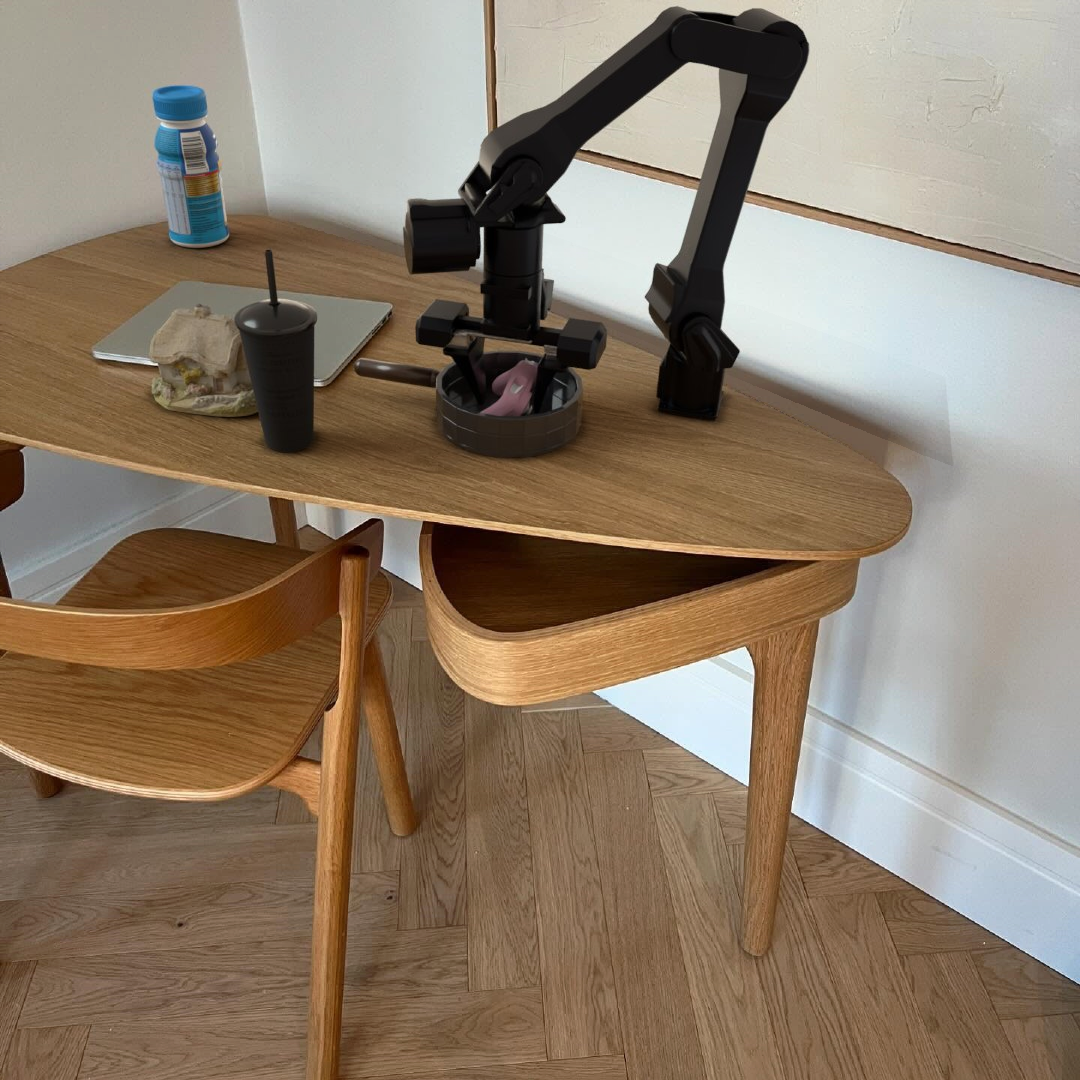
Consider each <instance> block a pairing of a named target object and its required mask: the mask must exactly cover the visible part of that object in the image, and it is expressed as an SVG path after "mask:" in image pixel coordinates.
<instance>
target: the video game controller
mask: <svg viewBox="0 0 1080 1080" xmlns="http://www.w3.org/2000/svg"><path fill="white" fill-rule="evenodd" d="M538 364H539V363H536V362H534V361H528V360H527V358H526V359H525V361H524V360H522V361H520V362H519V363H518V364H517V365H516V366H515V367H514V368H512V369H511V370H509V371H507V372H505V373H503V374H502V375H500V376H499V377H497V378H496V379H495V381H494V382H493V384H492V390H493V392H494V393H495V394H496V395H498V396H502V397H501V398H500V399H499V400H498V401H497V402H496V403H495V404H493V405H492V406H490V407H489V408H487V409H485V410H483V411H482V412H480V413H484V414H490V415H496V416H521V415H522V414H524V413H526V412H527V413H526V416H527V415H528V414H530V412H531V411H532V405H531V406H530V408H529V402H530V398H531V395H532V393H531V391H532V390H533V388H534V387H535V386H536V377H537V367H538Z"/></svg>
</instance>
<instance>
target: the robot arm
mask: <svg viewBox="0 0 1080 1080" xmlns="http://www.w3.org/2000/svg"><path fill="white" fill-rule="evenodd" d="M809 56H810V43H809V41H808V39H807V37H806V34H805V31H804V30H803V29H802V28H801V27H800V26H799V24H797V23H794V22H792V21H790V20H788V19H786V18H784V17H782V16H780V15H778V14H776V13H774V12H771V11H769V10H767V9H765V8H760V7H753V8H749V9H747V10H744V11H743V12H741V13H740V14H738V15H734V14H728V13H723V12H718V11H717V12H716V11H704V10H703V11H702V10H700V11H699V10H691V9H687V8H685V7H682V6H678V5H676V6H670V7H668V8H666V9H664V10H663V11H661V12H660V13H659V14H658V16H657V17H656V18H655V20H654V21H652V23H651V24H649V25H648V26H646V27H645V28H644V29H643V30H642V31H640V32H639V33H638V34H637V35H635V36H634V37H633V38H631V40H629V41H628V42H627V43H625V45H623V46H622V47H621V48H619V49H618V50H617V51H616V52H614V53H613V54H612V55H611V56H609V57H608V58H607V59H605V60H604V61H603V62H601V64H599V65H598V66H597V67H596V68H594V69H592V70H591V72H589V73H588V74H587V75H586V76H584V77H583V78H582V79H580V80H579V81H578V82H576V83H575V84H574V85H573V86H571V87H570V88H569V89H568V90H567V91H565V92H564V93H563V94H562V95H560V96H559V97H558V98H557V99H555V100H554V101H551V102H550V103H548V104H546V105H544V106H541V107H539V108H536V109H532V110H529V111H527V112H523V113H521V114H519V115H518V116H516V117H514V118H512V119H510V120H508V121H506V122H505V123H503V124H501V125H500V126H498V127H496V128H493V129H492V130H491V131H490V132H489V133H487V135H486V136H485V137H484V138H483V140H482V141H481V144H480V150H479V156H478V161H477V162H476V164H475V165H474V167H473V168H472V170H471V171H470V172H469V173H468V175H467V177H466V178H465V179H464V180H463V182H462V183H461V185H460V186H459V188H458V189H457V194H458V197H460V198H440V199H427V198H421V197H420V198H419V197H417V198H416V197H415V198H408V199H407V201H406V213H405V218H404V219H405V220H404V224H405V225H404V226H402V232H403V233H402V234H403V235H402V236H403V237H402V238H403V249H404V256H405V262H406V268H407V271H408V274H409V275H410V276H411V275H413V276H414V275H427V274H442V273H457V272H459V273H460V272H468V271H470V269H471V268H475V267H476V266H477V260H480V258H481V252H482V251H483V258H482V262H483V264H482V265H483V266H482V267H483V271H482V272H483V273H482V274H483V275H482V279H483V280H482V281H481V282H480V285H479V286H480V290H479V292H480V293H479V294H481V295H483V296H482V298H483V299H482V301H483V302H482V313H483V314H482V317H479V316H472V315H471V316H470V306H469V305H468V304H467V303H466V302H461V301H453V300H447V299H440V298H439V299H438V298H435V299H434V300H432V301H431V302H430V303H429V305H428V306H427V307H426V308H425V309H424V310H423V312H422V313H421V314H420V315H419V316H418V317H417V318H416V322H415V328H414V329H415V342H416V343H417V344H418V345H422V346H427V347H434V348H441V349H442V354H443V355H444V356H447V357H451V359H452V361H454V362H455V363H456V365H457V366H458V368H459V369H460V371H461V372H462V374H463V375H464V377H465V379H466V381H467V382H468V384H469V386H470V388H471V390H472V392H473V394H474V396H475V398H476V400H477V402H478V404H479V405H483V404H484V402H485V397H486V380H485V366H484V352H485V350H484V349H485V342H486V341H485V340H486V339H489V340H496V341H501V342H509V343H516V344H523V345H529V346H537V347H543V352H544V354H542V355H543V357H542V359H541V361H540V362H539V364H538V367H537V377H536V387H535V397H534V412H535V414H539V412H540V410H541V408H542V405H543V403H544V400H545V398H546V395H547V393H548V390H549V388H550V385H551V383H552V380H553V378H554V376H555V374H556V373H557V372H559V373H564V372H567V370H568V369H569V367H571V368H573V369H581V370H588V371H590V370H595V369H596V368H597V366H598V364H599V362H600V360H601V358H602V356H603V355H604V353H605V350H606V349H607V340H608V330H607V328H606V326H605V324H604V323H603V322H601V321H594V320H587V319H580V318H573V317H568V320H567V322H566V323H565V325H564V326H563V327H561V326H558V327H557V326H555V327H547V326H542V325H541V321H545V320H546V318H547V316H548V312H549V311H551V310H552V304H553V303H552V300H553V296H554V295H553V293H554V286H555V280H554V279H550V278H545V271H544V270H545V269H544V268H543V255H544V254H543V252H544V251H543V249H544V227H545V226H544V225H553V224H554V225H555V224H556V225H557V224H563V223H565V222H566V221H567V217H566V215H565V214H564V213H563V212H562V210H561V209H560V207H559V206H558V205H557V204H556V203H554V202H553V200H552V198H551V196H550V195H549V194H548V192H549V191H550V190H551V189H552V188H553V187H554V185H556V183H557V182H558V181H559V180H560V179H561V178H562V177H563V176H564V175H565V173H566V172H567V170H568V169H569V168H570V165H571V164H572V162H573V160H574V159H575V157H576V155H577V153H578V152H579V151H580V150H581V149H582V148H583V147H584V145H585V144H586V143H587V142H588V141H590V140H591V139H592V138H594V137H595V136H596V135H598V134H599V133H600V132H601V131H602V130H604V129H605V128H607V127H608V126H609V125H610V124H612V123H613V122H614V121H615V120H617V119H618V118H619V117H620V116H622V115H623V114H624V113H626V112H627V111H628V110H629V109H631V108H632V107H633V106H634V105H636V104H637V103H638V102H640V101H641V100H642V99H643V98H645V97H646V96H647V95H648V94H649V93H651V92H652V91H654V90H655V89H656V88H657V87H659V86H660V85H661V84H662V83H664V82H665V81H666V80H667V79H669V78H670V77H671V76H672V75H674V74H675V73H676V72H677V71H679V70H681V68H682V67H684V66H685V65H686V64H689V63H691V64H698V65H704V66H708V67H712V68H716V69H718V85H719V86H718V87H719V103H720V107H719V114H718V118H717V121H716V125H715V129H714V131H713V135H712V138H711V141H710V145H709V149H708V152H707V154H706V155H707V156H706V159H705V163H704V166H703V170H702V173H701V176H700V180H699V184H698V187H697V190H696V193H695V197H694V200H693V204H692V208H691V211H690V214H689V218H688V222H687V225H686V228H685V232H684V235H683V238H682V242H681V245H680V248H679V251H678V253H677V254H676V255H675V256H674V258H673V259H672V260H671V261H670V263H668V264H667V265H666V264H663V263H659V262H657V263H655V264H654V267H653V272H652V278H651V279H652V280H651V284H650V286H649V288H648V291H647V292H646V293H645V295H644V299H645V300H646V301H647V302H648V307H647V308H648V314H649V316H650V318H651V320H652V322H653V323H654V324H655V326H656V328H658V329H659V330H660V332H661V333H662V335H663V337H664V338H665V340H667V341H668V342H669V345H668V348H667V351H666V354H664V355H663V356H662V357H661V361H660V364H659V369H658V375H657V376H658V377H657V385H656V395H655V397H656V399H657V400H659V402H658V404H657V409H656V410H657V411H658V412H660V413H665V414H673V415H678V416H685V417H689V418H690V417H691V418H697V419H704V420H710V421H715V420H717V419H718V416H719V412H720V410H721V409H720V408H721V405H722V401H723V397H724V393H725V392H724V390H723V385H724V380H725V375H726V374H725V373H726V369H731V368H733V366H734V364H735V362H736V360H737V359H738V358H739V357H738V356H739V355H740V353H741V350H740V348H739V347H738V346H737V345H736V344H735V343H734V342H733V340H732V339H731V338H730V337H729V336H728V335H727V334H726V332H725V331H724V330H723V329H722V325H723V320H724V314H725V313H724V311H725V305H726V292H725V277H724V269H725V263H726V261H727V257H728V254H729V252H730V248H731V245H732V241H733V238H734V234H735V233H736V232H735V231H736V229H737V226H738V222H739V220H740V216H741V213H742V209H743V207H744V203H745V200H746V196H747V193H748V190H749V187H750V184H751V180H752V177H753V174H754V171H755V168H756V164H757V161H758V159H759V156H760V152H761V148H762V146H763V143H764V139H765V136H766V134H767V129H768V128H769V126H770V124H771V122H772V121H773V120H774V118H775V117H776V116H777V115H778V114H779V112H780V111H781V110H782V109H783V108H784V106H786V104H787V103H788V102H789V101H790V99H791V98H792V96H793V94H794V92H795V90H796V87H797V85H798V83H799V82H800V80H801V77H802V75H803V74H804V71H805V69H806V67H807V64H808V61H809ZM481 228H483V249H482V240H481V239H482V238H481Z"/></svg>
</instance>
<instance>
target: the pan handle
mask: <svg viewBox="0 0 1080 1080" xmlns="http://www.w3.org/2000/svg"><path fill="white" fill-rule="evenodd" d="M353 370H354V372H355V374H356V375H357V376H359V377H363V378H368V379H374V380H381V381H387V382H393V383H399V384H400V383H401V384H406V385H413V386H417V387H424V388H431V389H436V378H437V376H438V375H439V373H440V372H441V370H439V369H437V368H431V367H425V366H417V365H412V364H406V363H399V362H395V361H394V362H393V361H387V360H380V359H374V358H369V357H368V358H367V357H359V358H358V359H356V361H355V362H354V364H353Z"/></svg>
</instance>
